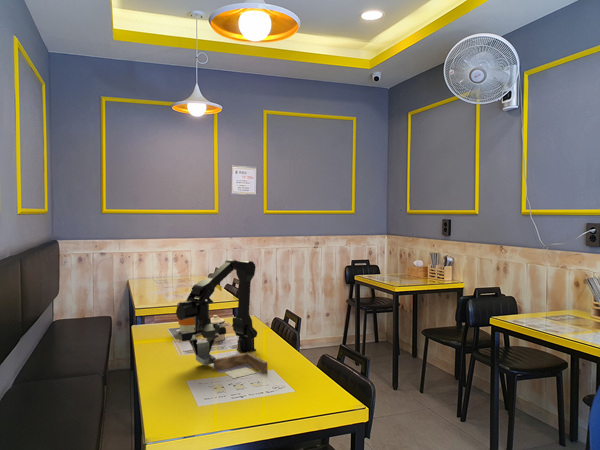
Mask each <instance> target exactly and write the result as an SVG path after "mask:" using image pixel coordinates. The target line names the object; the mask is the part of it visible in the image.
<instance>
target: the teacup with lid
mask: <svg viewBox="0 0 600 450" xmlns="http://www.w3.org/2000/svg"><path fill="white" fill-rule="evenodd" d="M209 318H210V320H211V324H215V323H218V324H219V325H222V326H224V327H225V328H226V326H225V322H226V320H225V319H223V318H221V317H219V316H218V314H213V315H212V317H209ZM217 335H219V334H218V333H217ZM225 336H226V334H222V335H219V337H217V338H216V339H215V340H214V342H213V343H215V342H220V341H224V340H225V338H226V337H225Z"/></svg>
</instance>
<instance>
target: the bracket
mask: <svg viewBox="0 0 600 450" xmlns="http://www.w3.org/2000/svg"><path fill="white" fill-rule="evenodd" d="M214 359H217V358H216V357H215V356H214V355H212V354H211V353H209V341H207V340H204V341H203V340H202V341H199V342H198V341H197V355H195V360H196V361H197V362H198V363H199V364H201V365H202V366H207V365H211V364H213V365H214Z"/></svg>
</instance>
